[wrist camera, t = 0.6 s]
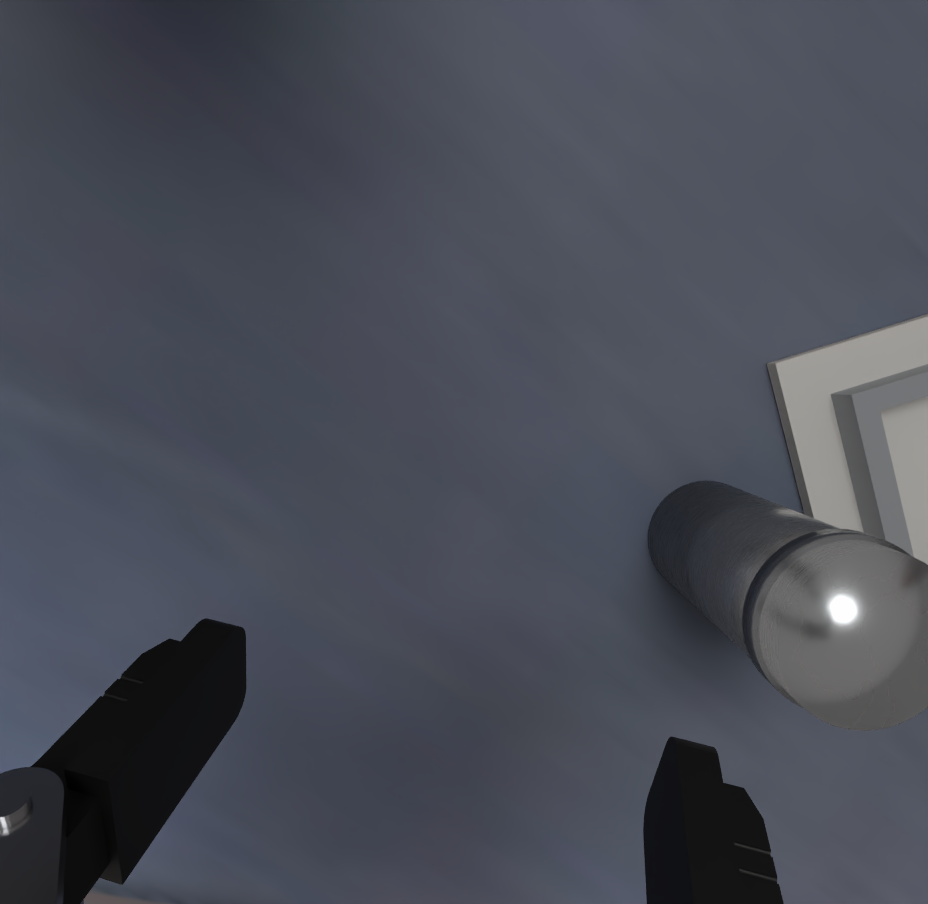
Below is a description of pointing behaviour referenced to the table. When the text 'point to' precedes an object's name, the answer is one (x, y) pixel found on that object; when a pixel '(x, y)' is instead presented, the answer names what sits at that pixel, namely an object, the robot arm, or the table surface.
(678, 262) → the table surface
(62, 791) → the robot arm
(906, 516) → the duct flange
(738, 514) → the grey canister
